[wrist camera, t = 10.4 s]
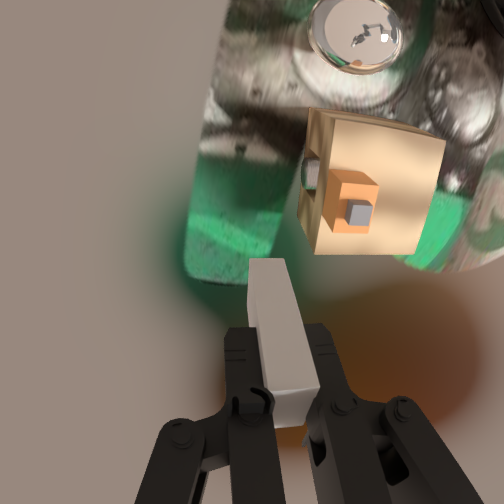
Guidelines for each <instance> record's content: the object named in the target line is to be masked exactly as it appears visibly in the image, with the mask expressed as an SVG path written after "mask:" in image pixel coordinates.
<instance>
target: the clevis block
mask: <svg viewBox="0 0 504 504" xmlns="http://www.w3.org/2000/svg"><path fill="white" fill-rule="evenodd" d="M445 143H446V141H445V140H443V139H441V138H439V137H436V136H434V135H432V134H430V133H428V132H425V131H423V130H421V129H418V128H416V127H414V126H411V125H409V124H406V123H404V122H399V121H394V120H390V119H385V118H379V117H374V116H369V115H363V114H357V113H351V112H344V111H337V110H330V109H322V108H313V107H309V116H308V126H307V135H306V144H305V153H304V158H305V157H308V158H320V167H319V174H318V181H317V188H316V190H313V189H304V188H303V187H302V183H301V188H300V196H299V204H298V211H297V217H298V219H299V221H300V223H301V226H302V228H303V230H304V232H305V234H306V236H307V239H308V241H309V243H310V246H311V248H312V250H313V253H314V254H315V255H323V254H325V255H329V254H331V255H339V254H341V255H344V254H347V255H352V254H353V255H355V254H360V255H361V254H414V253H415V250H416V247H417V244H418V242H419V239H420V236H421V233H422V230H423V227H424V223H425V220H426V217H427V214H428V210H429V207H430V204H431V200H432V197H433V193H434V189H435V186H436V182H437V178H438V174H439V170H440V166H441V162H442V157H443V153H444V148H445ZM329 169H334V170H346V171H356V172H364V173H365V174H366V175H367V176H369V177H370V178H371V179H372V180H373V181H374V182H375V183H377V184H378V185H379V190H378V195H377V199H376V203H375V208H374V212H373V216H372V220H371V224H370V228H369V232H368V234H360V233H332V231H331V229H330V227H329V226H328V224H327V222H326V221H325V219H324V217H323V216H322V212H323V206H324V200H325V194H326V187H327V181H328V174H329Z"/></svg>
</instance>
